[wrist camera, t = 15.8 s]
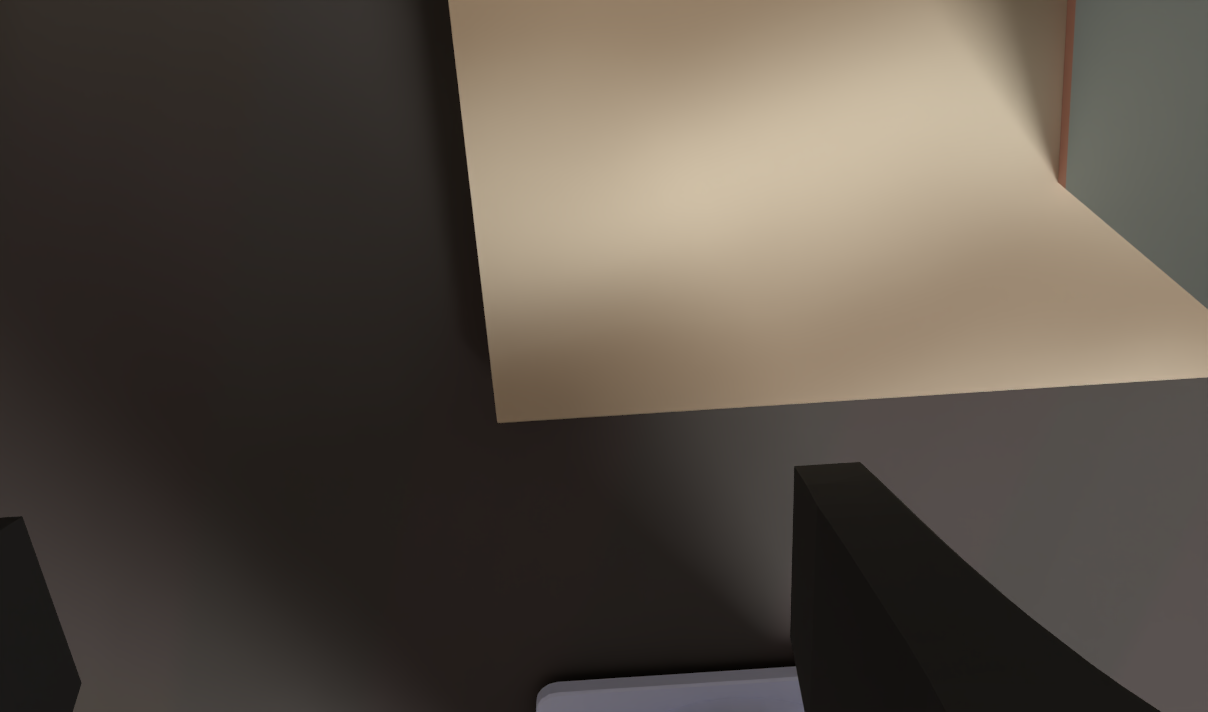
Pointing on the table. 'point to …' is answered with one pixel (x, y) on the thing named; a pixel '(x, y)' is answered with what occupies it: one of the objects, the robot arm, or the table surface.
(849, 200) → the birch board
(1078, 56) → the block
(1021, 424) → the table surface
